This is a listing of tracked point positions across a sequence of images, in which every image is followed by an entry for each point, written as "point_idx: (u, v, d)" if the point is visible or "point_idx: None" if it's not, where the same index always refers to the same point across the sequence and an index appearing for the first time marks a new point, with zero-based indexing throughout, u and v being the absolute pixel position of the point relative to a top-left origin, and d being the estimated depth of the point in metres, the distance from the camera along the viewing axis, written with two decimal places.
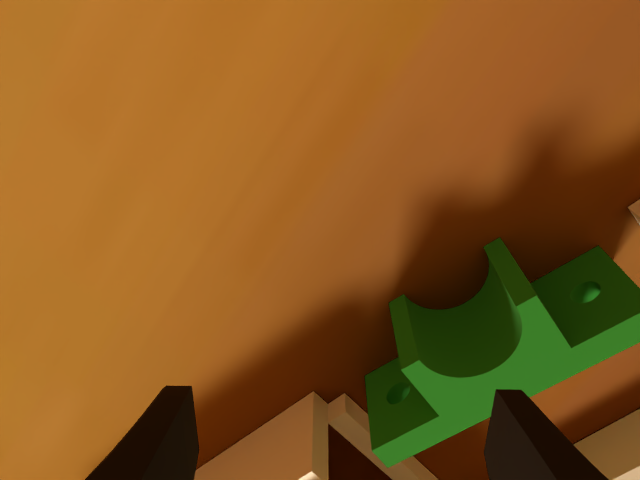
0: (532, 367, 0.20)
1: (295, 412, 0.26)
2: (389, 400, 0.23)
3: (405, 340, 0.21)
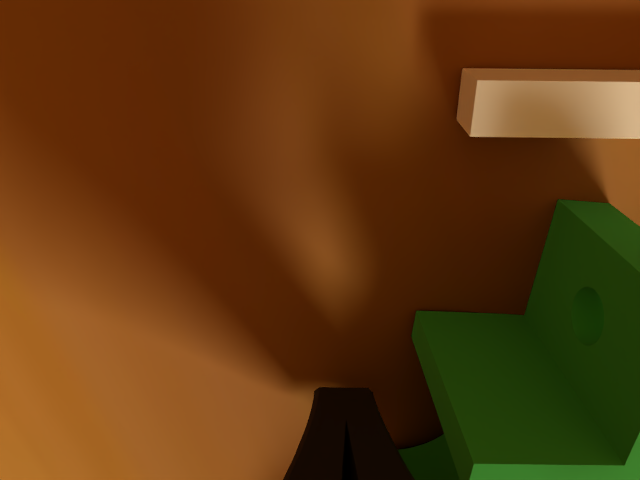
0: None
1: None
2: None
3: None
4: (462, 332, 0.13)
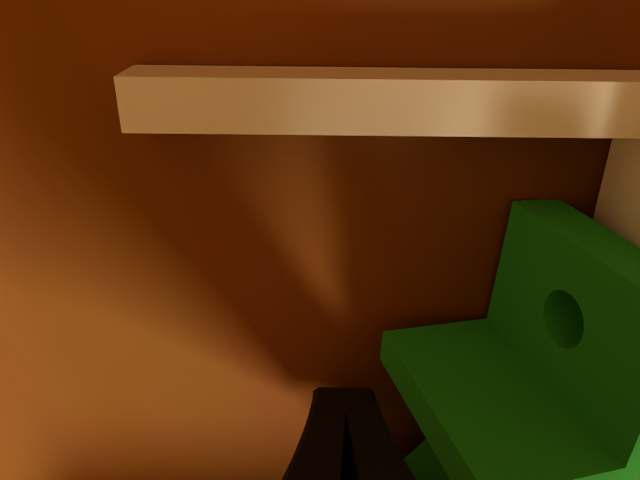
0: None
1: None
2: None
3: None
4: (434, 348, 0.12)
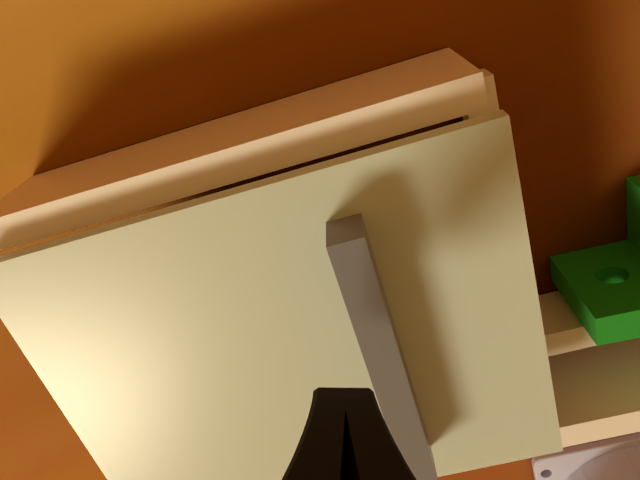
0: None
1: (418, 60, 0.18)
2: (595, 281, 0.21)
3: None
4: None
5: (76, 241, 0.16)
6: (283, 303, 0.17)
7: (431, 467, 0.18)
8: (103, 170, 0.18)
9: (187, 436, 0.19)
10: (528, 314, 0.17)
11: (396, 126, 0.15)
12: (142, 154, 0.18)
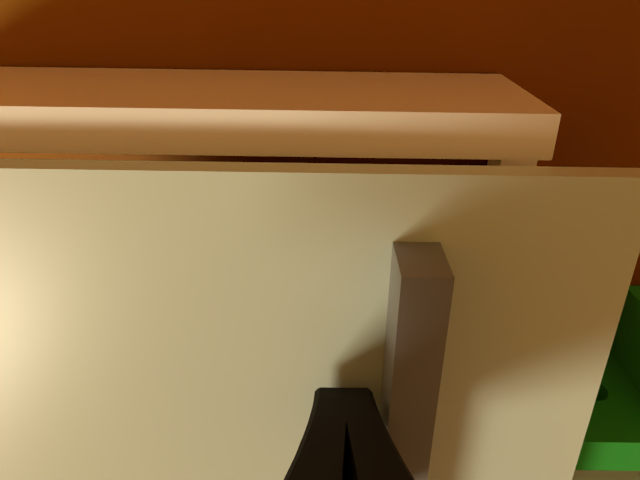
0: None
1: (466, 77, 0.15)
2: None
3: None
4: None
5: (53, 171, 0.11)
6: (300, 324, 0.13)
7: None
8: (41, 86, 0.14)
9: (116, 452, 0.15)
10: (578, 411, 0.14)
11: (438, 147, 0.12)
12: (99, 82, 0.14)
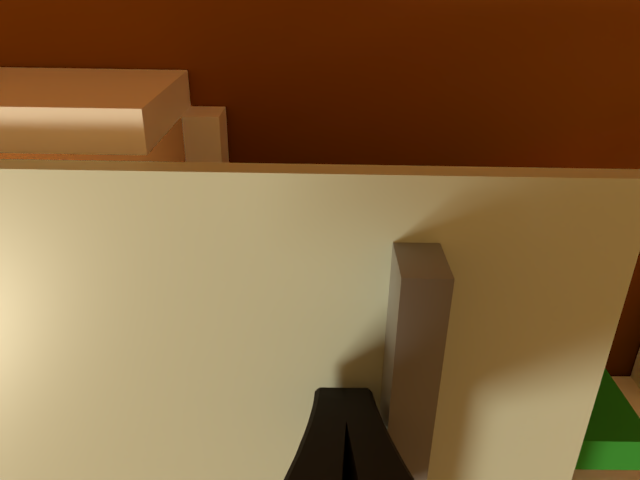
0: None
1: (142, 73, 0.15)
2: None
3: None
4: None
5: (55, 171, 0.11)
6: (300, 325, 0.13)
7: None
8: None
9: (116, 452, 0.15)
10: (577, 412, 0.14)
11: (29, 142, 0.12)
12: None
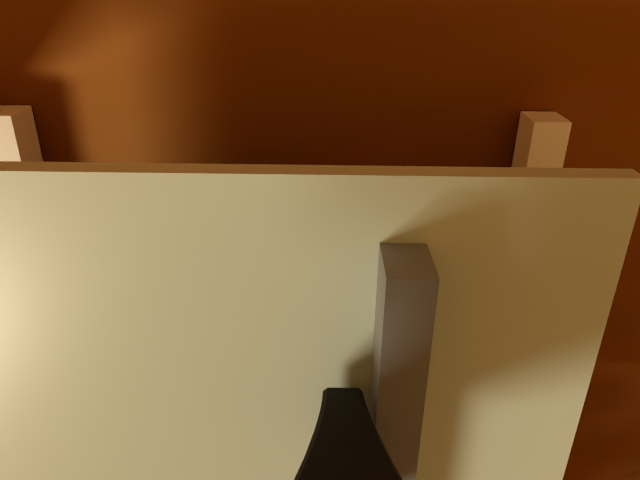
0: None
1: None
2: None
3: None
4: None
5: (40, 173, 0.11)
6: (288, 326, 0.13)
7: None
8: None
9: (107, 453, 0.15)
10: (567, 412, 0.14)
11: None
12: None
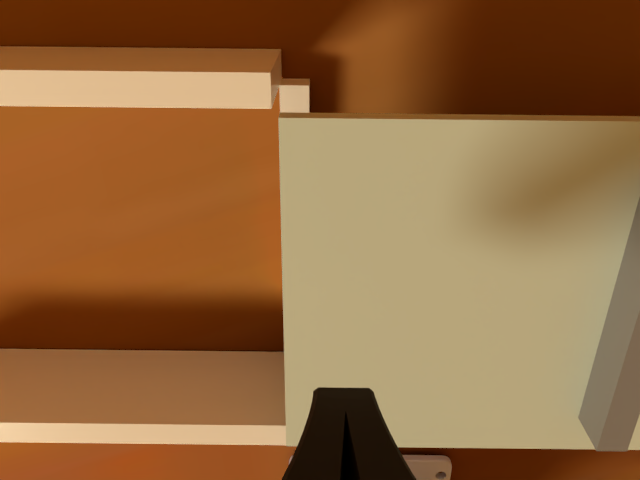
0: None
1: (247, 51, 0.19)
2: None
3: None
4: None
5: (404, 121, 0.15)
6: (561, 242, 0.17)
7: (630, 434, 0.18)
8: None
9: (391, 351, 0.19)
10: None
11: (183, 99, 0.16)
12: None
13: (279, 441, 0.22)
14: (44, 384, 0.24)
